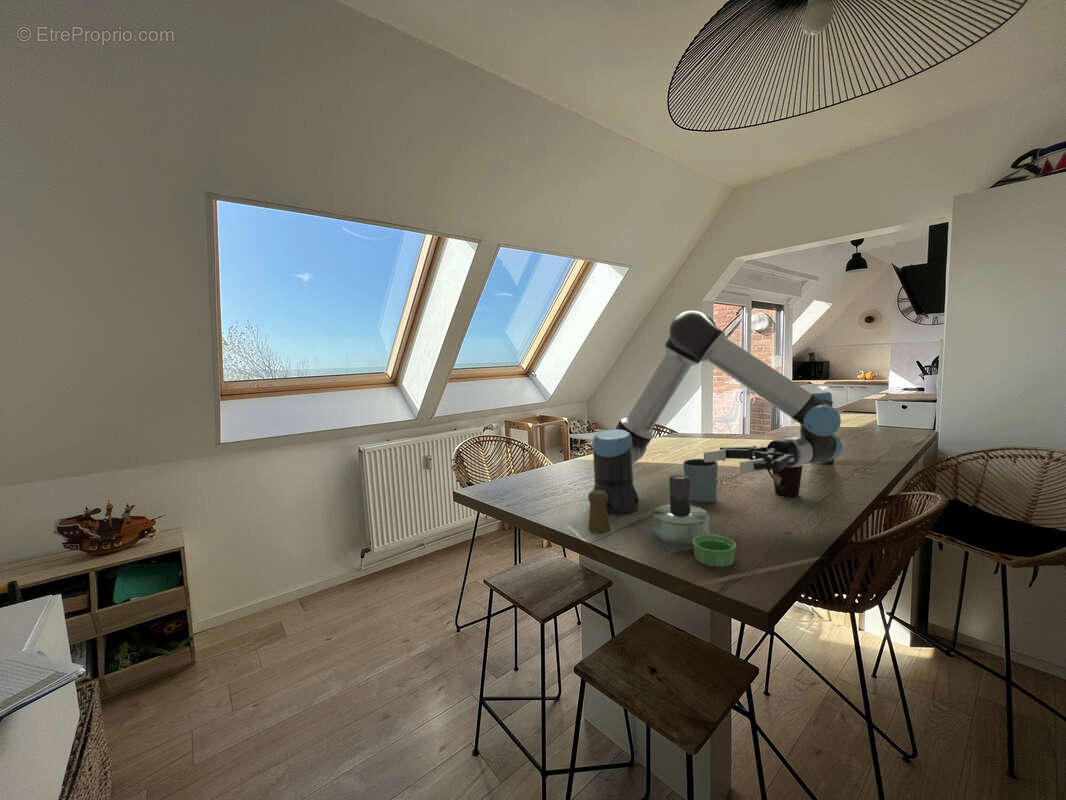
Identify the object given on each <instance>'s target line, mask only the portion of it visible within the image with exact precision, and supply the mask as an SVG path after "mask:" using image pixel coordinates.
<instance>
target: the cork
mask: <svg viewBox="0 0 1066 800" xmlns="http://www.w3.org/2000/svg"><path fill="white" fill-rule="evenodd" d="M587 498H588V499H587V500H588V502H589V517H588V528H587V529H588V531H589V532H591V533H595V534H605V533H608V532H610V531H611V526H610V525H611V524H610V519H609V514H608V512H607V507H606V502H607V501H608V495H607V493H606V492H605V491H603V490H593V489H592V491H590V492H589V493H588V495H587ZM590 503H591V505H590Z"/></svg>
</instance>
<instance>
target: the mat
mask: <svg viewBox="0 0 1066 800" xmlns="http://www.w3.org/2000/svg"><path fill="white" fill-rule="evenodd" d="M636 530H637V531H639V532H640V533H642V534H644V535H645V536H646V537H647V538H649V539H651V540H652V541H653V542H655V543H656V544H657V545H659V546H661V548H664V549H665V550H667V552H669V553H672V554H673V553H677V552H683V551H688V550H694V546H681V545H673V544H669V543H665V542H661V541H660V540H659V539H657V538H656V537H654V525H652V526H645V527H639V528H636ZM709 534H710V535H717V534H716V533H714V532H712V531H710V530H709Z"/></svg>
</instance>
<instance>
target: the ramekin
mask: <svg viewBox="0 0 1066 800" xmlns="http://www.w3.org/2000/svg"><path fill="white" fill-rule="evenodd" d="M693 546H694V549H693V550H694V551H693V552H694V558H695V560H696V561H698V562H699V563H701V564H703V565H707V566H710V567H719V568H720V567H729V566H731V565H733V564H734V562H735V555H736V548H737V544H736V542H735V541H734V540H733V539H731V538H729V537H727V536H723V535H719V534H716V535H700V536H697V537H695V538H694V539H693Z"/></svg>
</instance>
